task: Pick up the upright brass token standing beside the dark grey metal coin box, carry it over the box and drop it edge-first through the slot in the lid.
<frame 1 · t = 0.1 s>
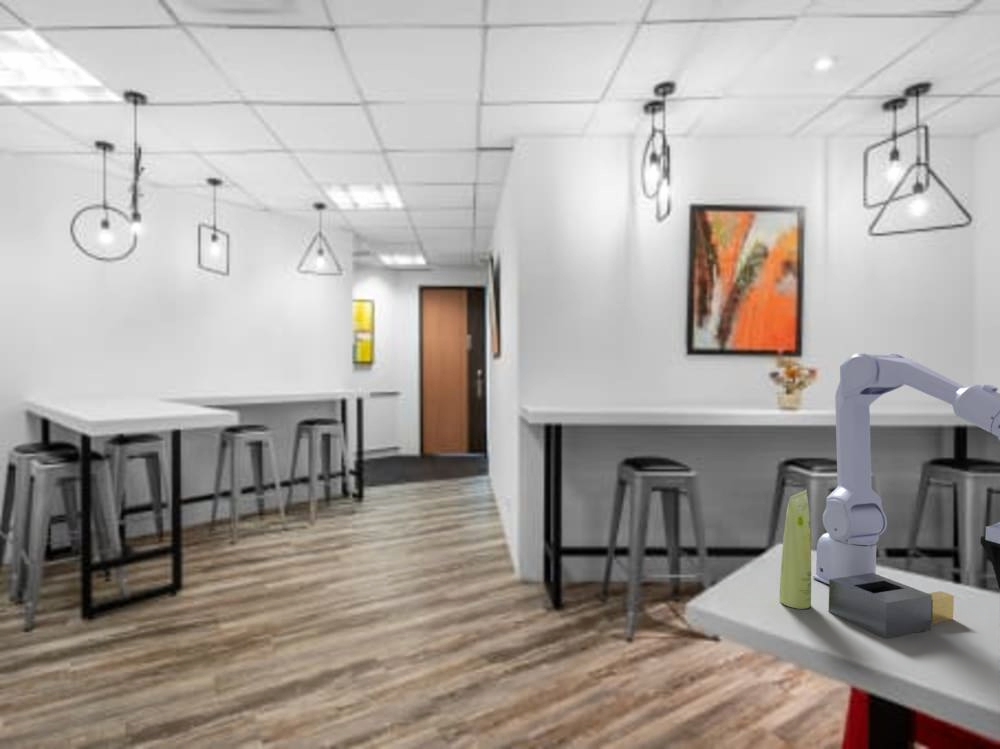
coin box: (878, 620, 94), on the table
tube: (794, 605, 100), on the table
brass token: (936, 619, 95), on the table
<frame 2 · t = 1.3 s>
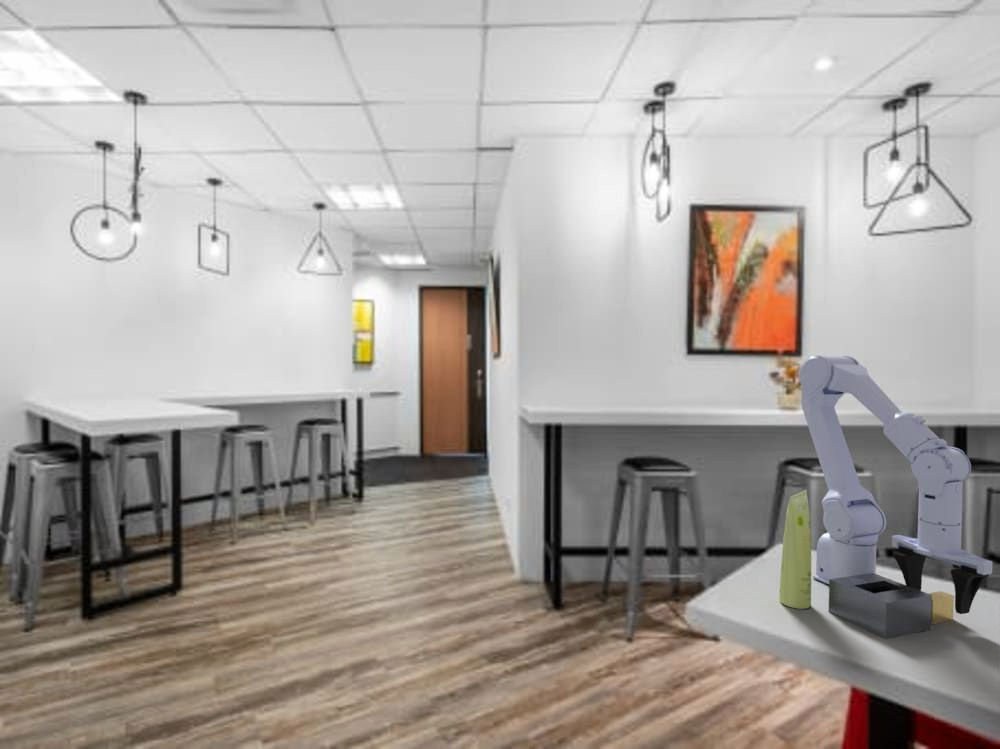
hand: (937, 603, 95), 3 cm above the table, fingers open, 7 cm apart
nothing on the table moved.
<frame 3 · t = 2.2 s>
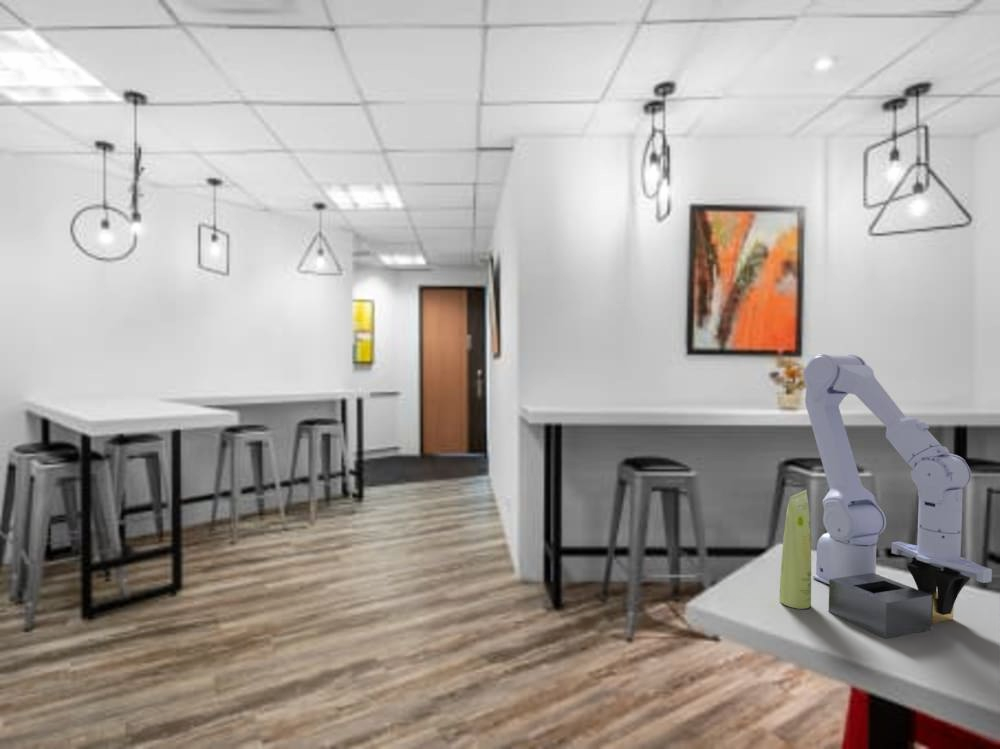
hand: (936, 610, 95), 1 cm above the table, fingers closed on brass token, 2 cm apart
brass token: (936, 618, 95), on the table, touching gripper
everything else where it was.
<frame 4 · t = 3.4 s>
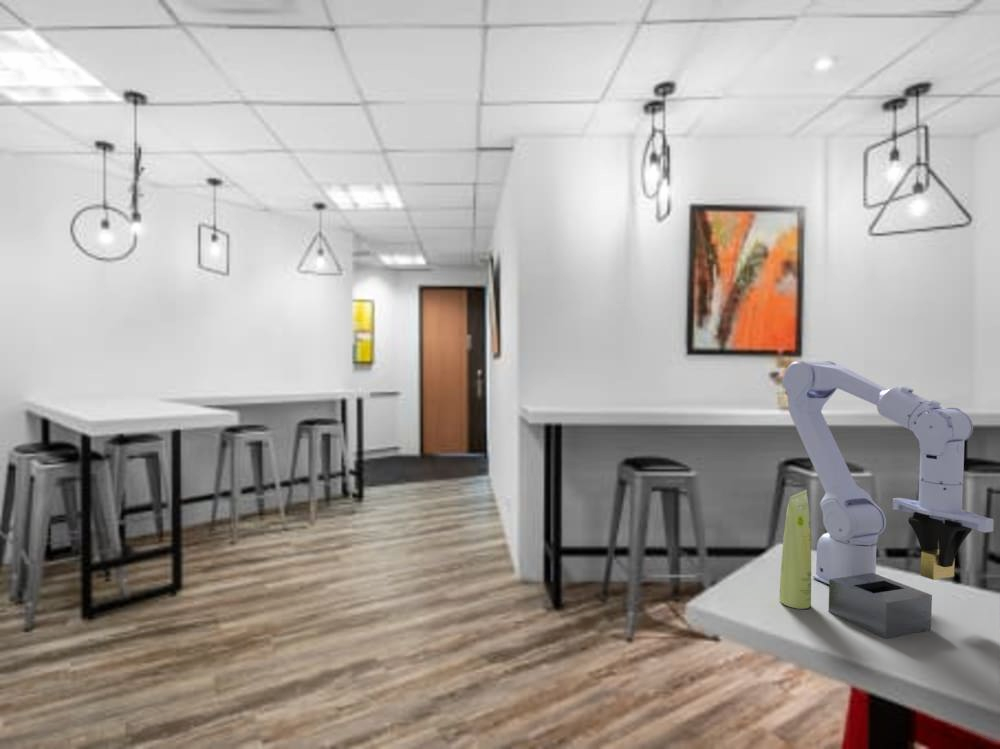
hand: (937, 563, 95), 9 cm above the table, fingers closed on brass token
brass token: (937, 575, 95), point 7 cm above the table, touching gripper
everything else where it was.
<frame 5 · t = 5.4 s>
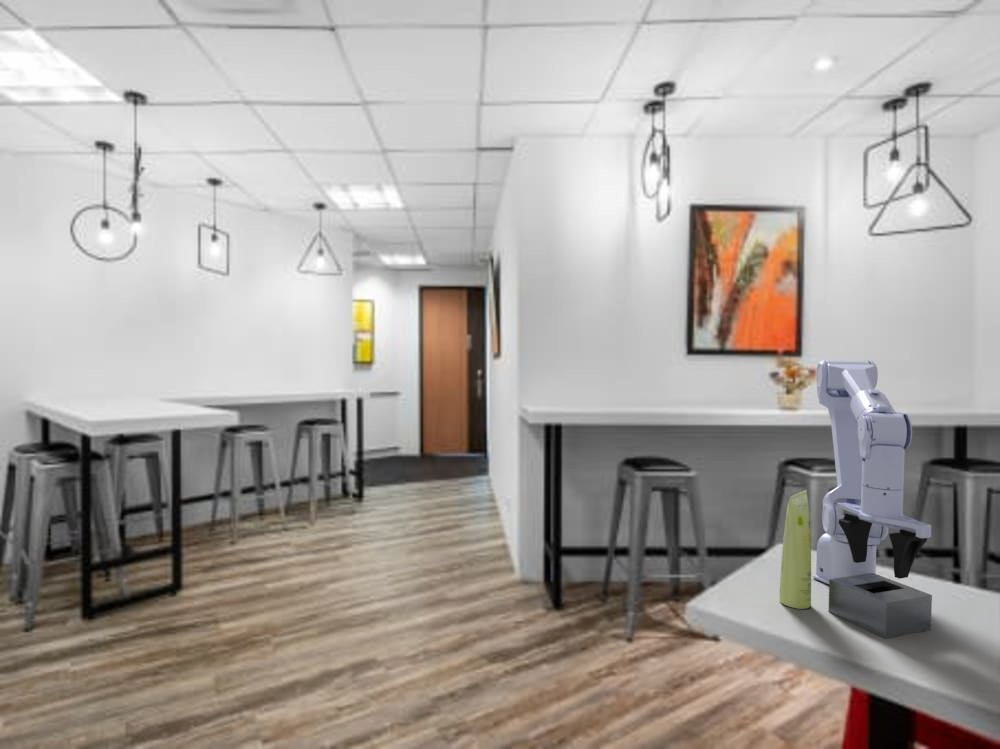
hand: (879, 569, 94), 8 cm above the table, fingers open, 7 cm apart
brass token: (876, 620, 95), resting in coin box
everything else where it was.
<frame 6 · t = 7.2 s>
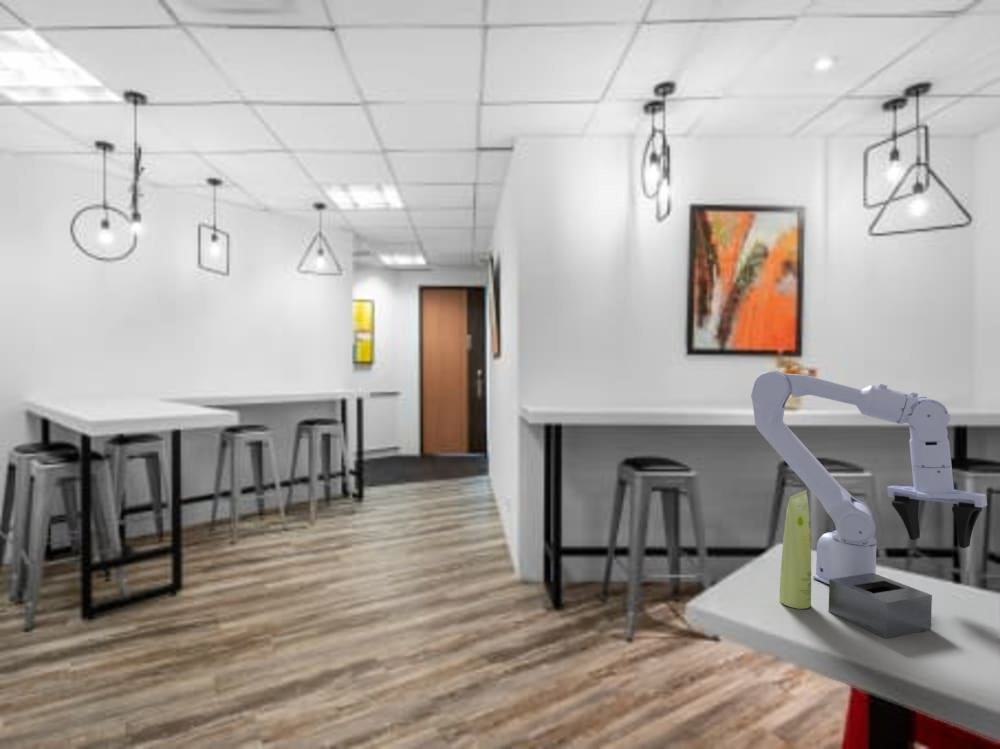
hand: (938, 542, 102), 11 cm above the table, fingers open, 7 cm apart
nothing on the table moved.
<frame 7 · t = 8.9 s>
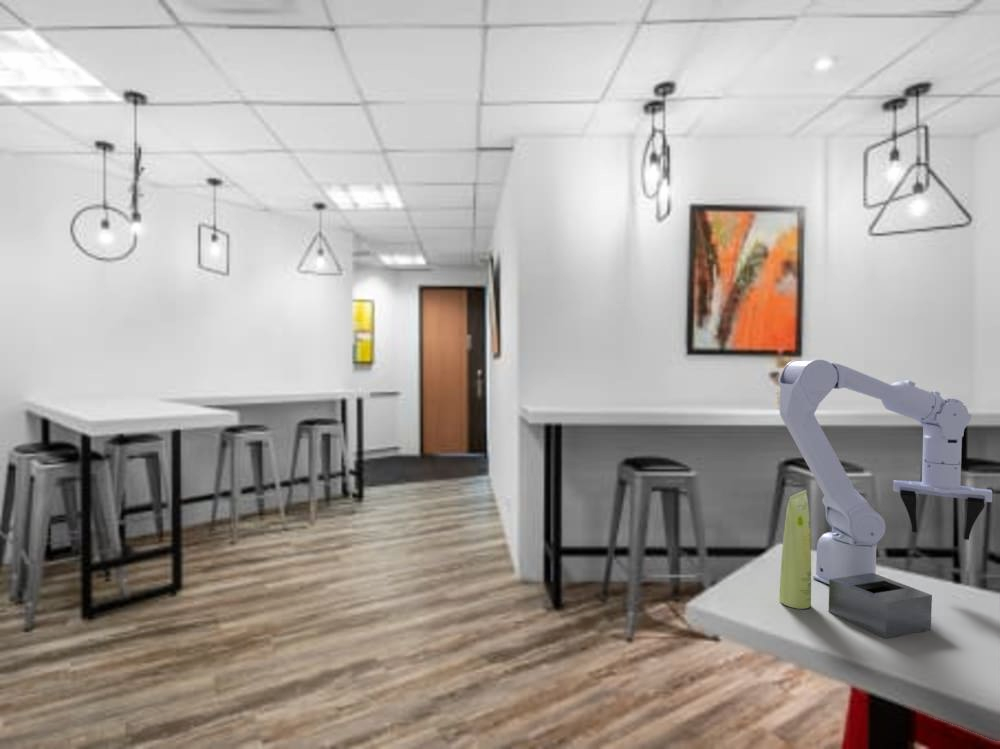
hand: (939, 534, 107), 10 cm above the table, fingers open, 7 cm apart
nothing on the table moved.
at the end: brass token inside the target area on the coin box (0.2 cm from its centre), point 0.0 cm above the coin box's base; the gripper is holding nothing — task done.
